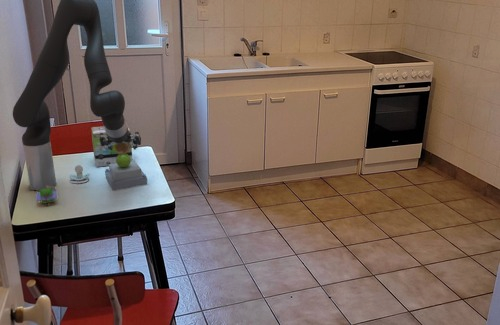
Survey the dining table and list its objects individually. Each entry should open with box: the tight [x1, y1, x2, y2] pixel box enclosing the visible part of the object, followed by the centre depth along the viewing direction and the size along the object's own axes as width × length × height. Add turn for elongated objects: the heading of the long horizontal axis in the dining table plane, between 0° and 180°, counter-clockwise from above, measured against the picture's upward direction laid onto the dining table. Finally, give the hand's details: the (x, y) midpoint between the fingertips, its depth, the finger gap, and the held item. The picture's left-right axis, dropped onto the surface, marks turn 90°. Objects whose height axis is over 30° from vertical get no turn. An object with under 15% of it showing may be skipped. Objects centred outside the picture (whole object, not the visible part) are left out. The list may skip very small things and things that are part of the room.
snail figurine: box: [115, 143, 132, 167], centre depth 184 cm, size 5×6×12 cm
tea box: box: [90, 124, 133, 168], centre depth 205 cm, size 15×10×15 cm, turn 111°
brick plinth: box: [104, 160, 148, 191], centre depth 187 cm, size 13×13×6 cm
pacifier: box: [69, 164, 90, 185], centre depth 187 cm, size 7×6×6 cm
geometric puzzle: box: [35, 185, 58, 206], centre depth 168 cm, size 7×7×8 cm
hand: (123, 147), depth 183 cm, fingers open, 8 cm apart
